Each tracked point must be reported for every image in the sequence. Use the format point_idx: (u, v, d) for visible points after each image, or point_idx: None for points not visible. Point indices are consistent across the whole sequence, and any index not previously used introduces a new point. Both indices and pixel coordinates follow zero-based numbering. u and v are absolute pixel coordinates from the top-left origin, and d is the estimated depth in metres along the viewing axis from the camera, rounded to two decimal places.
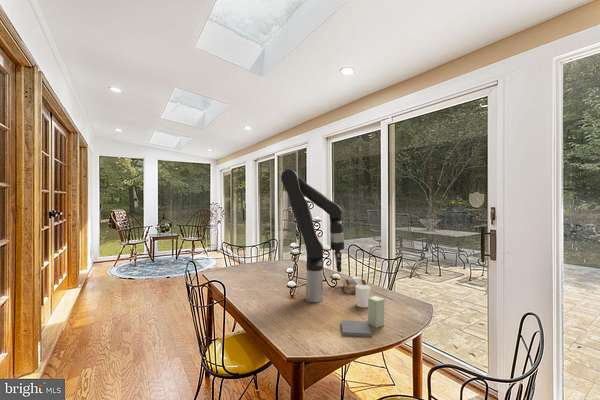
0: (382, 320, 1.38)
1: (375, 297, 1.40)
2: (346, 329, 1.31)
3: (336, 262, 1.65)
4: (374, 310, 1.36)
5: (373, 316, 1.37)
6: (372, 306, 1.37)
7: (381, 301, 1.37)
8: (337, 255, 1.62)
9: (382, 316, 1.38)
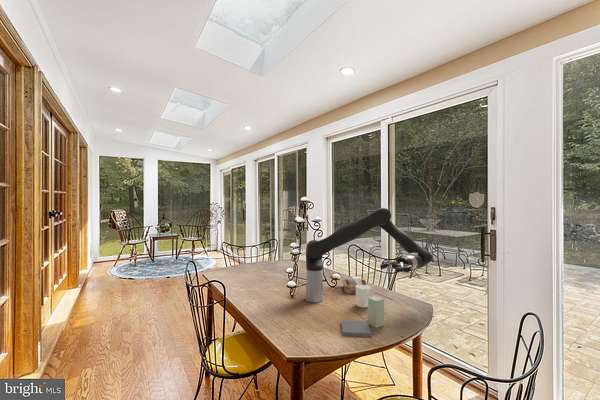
0: (382, 320, 1.38)
1: (375, 297, 1.40)
2: (346, 329, 1.31)
3: (402, 266, 1.46)
4: (374, 310, 1.36)
5: (373, 316, 1.37)
6: (372, 306, 1.37)
7: (381, 301, 1.37)
8: (412, 267, 1.46)
9: (382, 316, 1.38)
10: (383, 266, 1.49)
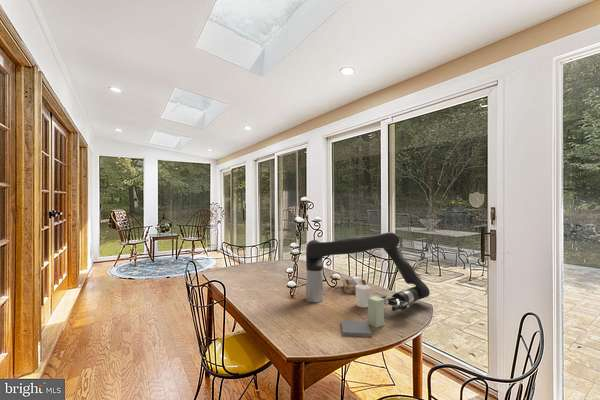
0: (382, 320, 1.38)
1: (375, 297, 1.40)
2: (346, 329, 1.31)
3: (398, 303, 1.44)
4: (374, 310, 1.36)
5: (373, 316, 1.37)
6: (372, 306, 1.37)
7: (381, 301, 1.37)
8: (408, 304, 1.45)
9: (382, 316, 1.38)
10: None
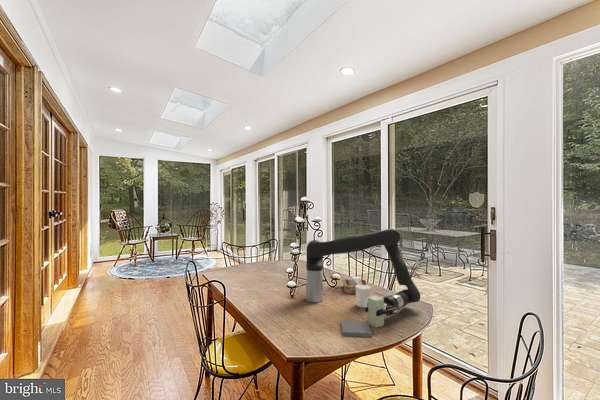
0: (382, 320, 1.38)
1: (375, 297, 1.40)
2: (346, 329, 1.31)
3: (383, 308, 1.38)
4: (374, 309, 1.36)
5: (373, 316, 1.37)
6: (372, 305, 1.37)
7: (381, 301, 1.37)
8: (395, 310, 1.38)
9: (382, 316, 1.38)
10: None
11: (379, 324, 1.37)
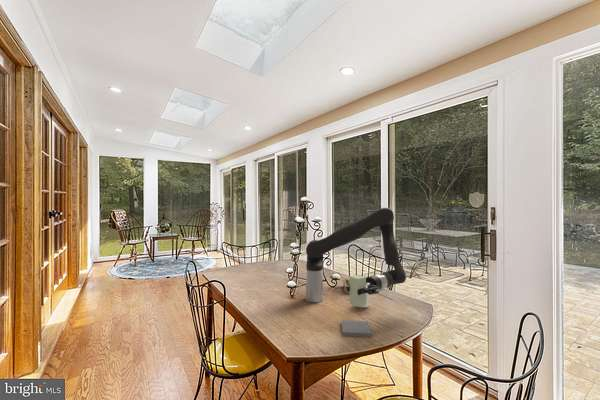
0: (364, 299, 1.32)
1: (357, 276, 1.35)
2: (346, 329, 1.31)
3: (365, 287, 1.32)
4: (356, 288, 1.31)
5: (354, 295, 1.32)
6: (353, 284, 1.32)
7: (362, 279, 1.32)
8: (378, 288, 1.32)
9: (364, 295, 1.32)
10: (349, 288, 1.34)
11: (361, 303, 1.31)
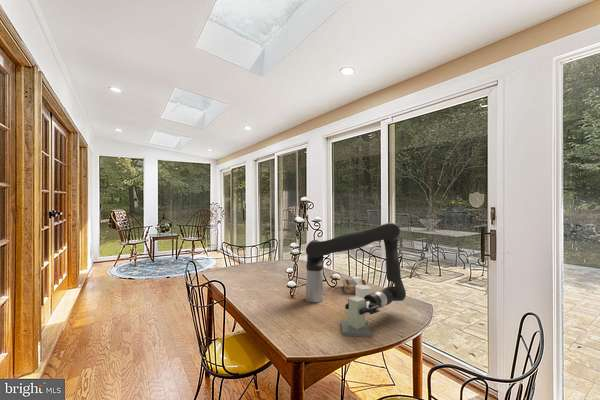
0: (363, 321, 1.33)
1: (356, 297, 1.35)
2: (346, 329, 1.31)
3: (367, 306, 1.32)
4: (355, 310, 1.31)
5: (354, 317, 1.32)
6: (353, 306, 1.32)
7: (362, 301, 1.32)
8: (378, 307, 1.33)
9: (363, 317, 1.33)
10: (348, 306, 1.35)
11: (360, 325, 1.32)
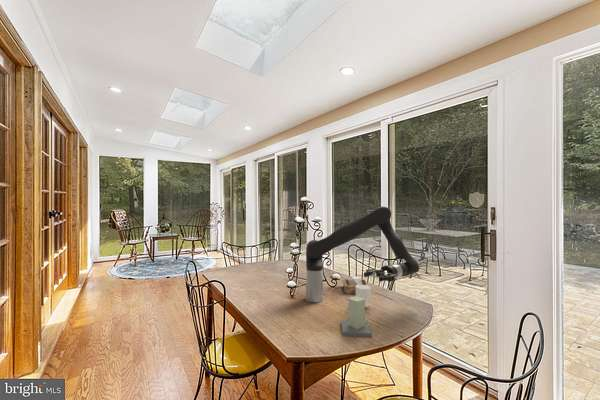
0: (363, 321, 1.33)
1: (356, 297, 1.35)
2: (346, 329, 1.31)
3: (385, 274, 1.43)
4: (355, 310, 1.31)
5: (354, 317, 1.32)
6: (353, 306, 1.32)
7: (362, 301, 1.32)
8: (396, 276, 1.43)
9: (363, 317, 1.33)
10: (366, 274, 1.46)
11: (360, 325, 1.32)
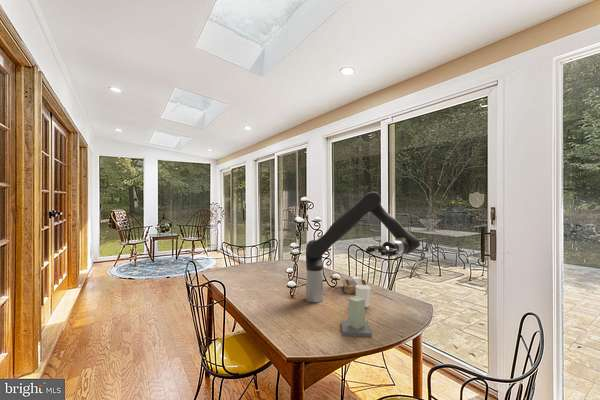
0: (363, 321, 1.33)
1: (356, 297, 1.35)
2: (346, 329, 1.31)
3: (387, 249, 1.45)
4: (355, 310, 1.31)
5: (354, 317, 1.32)
6: (353, 306, 1.32)
7: (362, 301, 1.32)
8: (397, 250, 1.45)
9: (363, 317, 1.33)
10: (368, 250, 1.48)
11: (360, 325, 1.32)
